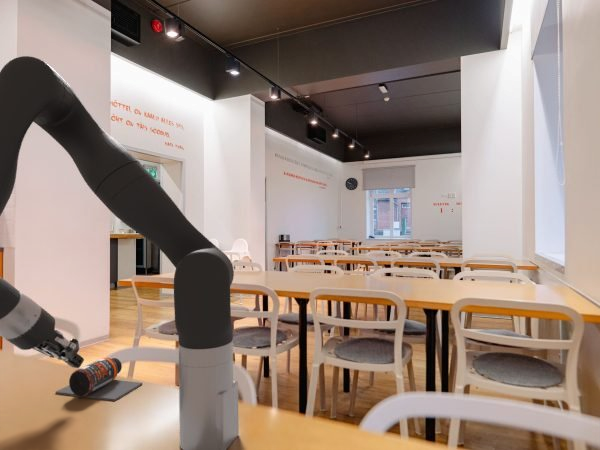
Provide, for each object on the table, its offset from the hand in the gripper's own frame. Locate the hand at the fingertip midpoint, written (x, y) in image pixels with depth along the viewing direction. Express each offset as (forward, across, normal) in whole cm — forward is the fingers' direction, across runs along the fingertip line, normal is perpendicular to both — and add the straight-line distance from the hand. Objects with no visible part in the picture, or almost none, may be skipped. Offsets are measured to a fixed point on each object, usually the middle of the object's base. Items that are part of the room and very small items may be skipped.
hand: (79, 363), depth 85 cm
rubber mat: (+10, +1, +1) cm, 10 cm away
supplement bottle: (+3, 0, +3) cm, 5 cm away
